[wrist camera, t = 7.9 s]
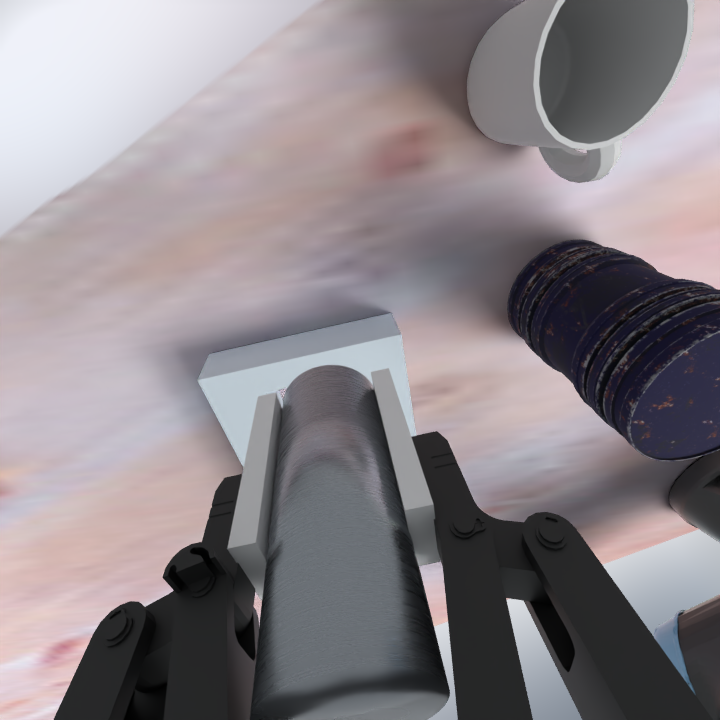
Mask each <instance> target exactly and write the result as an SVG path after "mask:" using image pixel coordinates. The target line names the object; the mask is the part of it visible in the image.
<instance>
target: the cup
mask: <svg viewBox="0 0 720 720" xmlns="http://www.w3.org/2000/svg"><path fill="white" fill-rule="evenodd" d="M693 22H694V0H526V1H524V2H522V3H521V4H519V5H517V6H516V7H514V8H512V9H511V10H509V11H507V12H506V13H505V14H504V15H502V16H501V17H500V18H499V19H498V20H497V21H496V22H495V23H494V24H493V25H492V26H491V27H490V28H489V29H488V30H487V32H486V33H485V35H484V36H483V38H482V39H481V41H480V42H479V44H478V46H477V48H476V51H475V53H474V55H473V58H472V60H471V63H470V68H469V73H468V78H467V101H468V105H469V110H470V114H471V116H472V118H473V120H474V122H475V124H476V126H477V127H478V128H479V129H480V130H481V131H482V133H483V134H484V135H485V136H486V137H488V138H490V139H492V140H494V141H496V142H499V143H503V144H511V145H522V146H536V147H539V150H540V152H541V154H542V156H543V158H544V160H545V162H546V163H547V164H548V166H549V167H550V168H551V170H553V171H554V172H555V173H556V174H558V175H559V176H560V177H562V178H564V179H566V180H568V181H572V182H577V183H582V182H589V181H595V180H600V179H601V178H603V177H604V176H606V175H608V174H609V172H610V171H611V170H612V169H613V167H614V166H615V165H616V163H617V161H618V159H619V157H620V155H621V149H622V139H624V138H626V137H627V136H628V135H630V134H631V133H632V132H633V131H635V130H636V129H637V128H639V127H640V126H641V125H642V124H644V123H645V122H646V121H647V119H648V118H649V117H650V116H651V115H652V114H653V113H654V112H655V111H656V109H657V108H658V107H659V106H660V105H661V104H662V102H663V101H664V99H665V97H666V96H667V94H668V93H669V91H670V90H671V88H672V86H673V85H674V83H675V82H676V79H677V77H678V75H679V72H680V70H681V68H682V66H683V63H684V61H685V59H686V56H687V52H688V48H689V44H690V40H691V36H692V32H693ZM575 149H579V150H587V153H582V152H580V151H577V150H575Z"/></svg>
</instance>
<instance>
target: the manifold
mask: <svg viewBox="0 0 720 720" xmlns="http://www.w3.org/2000/svg"><path fill="white" fill-rule="evenodd" d="M324 365H340V366H346V367H349V368H352V369H354V370H357V371H358V372H360V373H362V374H363V375H364V376H365V377H366V378H367V379H368V380H369V381H370V382H371V384H372V385H373V381H372V376H371V372H373V371H377V370H382V369H387V368H389V370H390V373H391V376H392V380H393V383H394V386H395V389H396V392H397V395H398V398H399V401H400V404H401V407H402V410H403V413H404V416H405V419H406V422H407V425H408V428H409V431H410V434H411V437H412V436H416V429H415V423H414V416H413V409H412V403H411V396H410V389H409V382H408V376H407V369H406V362H405V356H404V349H403V342H402V335H401V332H400V330H399V328H398V326H397V324H396V321H395V319H394V317H393V315H392V313H388V314H384V315H379V316H375V317H370V318H366V319H361V320H357V321H353V322H348V323H344V324H339V325H335V326H330V327H326V328H321V329H317V330H313V331H308V332H304V333H299V334H295V335H290V336H286V337H282V338H277V339H273V340H268V341H264V342H259V343H255V344H251V345H246V346H242V347H237V348H233V349H228V350H224V351H220V352H215V353H211V354H209V355H208V358H207V360H206V362H205V364H204V366H203V369H202V371H201V373H200V375H199V377H198V380H197V381H198V383H199V385H200V387H201V388H202V390H203V392H204V394H205V396H206V398H207V400H208V402H209V404H210V405H211V407H212V409H213V411H214V413H215V415H216V417H217V419H218V421H219V422H220V424H221V426H222V428H223V430H224V432H225V434H226V436H227V438H228V440H229V441H230V443H231V445H232V447H233V449H234V451H235V453H236V455H237V457H238V458H239V460H240V462H241V464H242V466H243V468H244V463H245V458H246V453H247V448H248V443H249V438H250V433H251V428H252V423H253V418H254V414H255V409H256V404H257V399H258V396H262V395H266V394H271V393H277V396H278V399H279V401H280V404H281V407H282V409H283V399H282V397H281V394H280V391H279V390H280V389H284V388H288V386H289V385H290V384H291V382H292V381H293V380H294V379H295V378H296V377H297V376H299V375H300V374H302V373H303V372H305V371H307V370H309V369H312V368H315V367H318V366H324ZM373 387H374V386H373Z"/></svg>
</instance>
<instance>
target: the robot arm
mask: <svg viewBox="0 0 720 720" xmlns="http://www.w3.org/2000/svg"><path fill="white" fill-rule="evenodd" d="M371 376H372V381H373V386H374V391H375V395H376V399H377V403H378V407H379V412H380V416H381V420H382V424H383V428H384V432H385V436H386V440H387V444H388V448H389V452H390V457H391V461H392V465H393V469H394V473H395V477H396V481H397V485H398V489H399V493H400V497H401V502H402V506H403V510H404V514H405V518H406V522H407V526H408V530H409V533H410V535H411V537H412V541H413V545H414V549H415V553H416V557H417V561H418V565H419V566H422V565H426V564H431V563H436V562H440V559H441V563H442V566H443V573H444V583H445V593H446V603H447V613H448V623H449V634H450V644H451V654H452V663H453V674H454V684H455V694H456V705H457V715H458V720H533V718H532V714H531V709H530V705H529V700H528V696H527V691H526V687H525V682H524V678H523V673H522V669H521V664H520V660H519V655H518V651H517V646H516V642H515V637H514V633H513V628H512V624H511V619H510V615H509V610H508V606H507V601H506V598H511V599H518V600H524V602H525V604H526V606H527V608H528V610H529V612H530V614H531V616H532V618H533V620H534V622H535V625H536V627H537V629H538V631H539V632H540V635H541V637H542V639H543V641H544V643H545V645H546V647H547V649H548V651H549V653H550V655H551V657H552V659H553V661H554V663H555V665H556V667H557V669H558V671H559V673H560V675H561V677H562V679H563V681H564V683H565V685H566V687H567V689H568V691H569V693H570V695H571V697H572V699H573V701H574V703H575V705H576V707H577V709H578V712H579V713H580V716H581V718H582V720H720V594H719V595H717V596H715V597H713V598H711V599H709V600H707V601H705V602H703V603H700V604H698V605H696V606H694V607H692V608H690V609H688V610H686V611H685V610H681V611H679V612H677V613H676V615H675V616H674V617H672V618H671V619H669V620H667V621H665V622H664V623H662V624H660V625H659V626H658V627H657V628H656V629H655V632H654V637H653V636H652V634H651V633H650V631H649V630H648V629H647V627H646V626H645V624H644V623H643V621H642V620H641V619H640V617H639V616H638V614H637V613H636V612H635V610H634V609H633V607H632V606H631V605H630V603H629V602H628V600H627V599H626V598H625V596H624V595H623V594H622V592H621V591H620V589H619V588H618V587H617V585H616V584H615V583H614V581H613V580H612V578H611V577H610V576H609V574H608V573H607V571H606V570H605V569H604V567H603V566H602V564H601V563H600V562H599V560H598V559H597V557H596V556H595V555H594V553H593V552H592V550H591V549H590V548H589V546H588V545H587V543H586V542H585V541H584V539H583V538H582V536H581V535H580V534H579V532H578V531H577V529H576V528H575V527H574V526H573V525H572V524H571V523H570V522H569V521H568V520H566V519H564V518H562V517H561V516H559V515H556V514H552V513H548V512H542V513H535V514H533V515H531V516H529V517H528V518H527V519H526V521H525V522H514V521H504V520H499V519H495V518H493V517H491V516H489V515H487V514H486V513H484V512H483V511H482V510H481V509H480V508H479V507H478V506H477V505H476V503H475V502H474V500H473V497H472V495H471V493H470V491H469V488H468V486H467V484H466V482H465V479H464V477H463V475H462V473H461V470H460V468H459V466H458V464H457V461H456V459H455V457H454V455H453V452H452V450H451V448H450V445H449V443H448V441H447V440H446V439H445V438H444V437H443V436H442V435H441V434H439V433H438V432H437V431H436V432H431V433H426V434H422V435H417V436H412V437H411V434H410V431H409V428H408V425H407V422H406V419H405V416H404V413H403V410H402V407H401V404H400V401H399V398H398V395H397V392H396V389H395V386H394V383H393V380H392V376H391V373H390V370H389V368H387V369H382V370H377V371H373V372H371ZM281 418H282V407H281V404H280V401H279V399H278V396H277V393H271V394H266V395H262V396H258V399H257V404H256V409H255V414H254V418H253V423H252V428H251V433H250V438H249V443H248V448H247V453H246V458H245V463H244V468H243V473H242V474H240V475H236V476H231V477H227V478H224V480H223V481H222V482H221V484H220V485H219V487H218V488H217V490H216V491H215V495H214V499H213V503H212V508H211V510H210V514H209V519H208V521H207V525H206V529H205V533H204V537H203V540H202V542H199V543H195V544H191V545H189V546H187V547H185V548H183V549H182V550H180V551H179V552H178V553H177V554H176V555H175V556H174V557H173V558H172V559H171V561H170V562H169V564H168V565H167V567H166V569H165V572H164V575H163V579H164V580H165V581H166V582H167V583H168V584H169V585H170V586H171V588H172V589H173V590H174V591H173V592H171V593H170V594H168V595H166V596H164V597H163V598H161V599H159V600H157V601H155V602H153V603H152V604H150V605H148V606H146V607H144V606H143V605H142V604H141V603H139V602H132V601H130V602H127V603H125V604H122V605H120V606H118V607H117V608H115V609H114V610H113V611H111V612H110V613H109V614H108V615H107V616H106V617H105V618H104V619H103V620H102V621H101V622H100V624H99V626H98V627H97V629H96V631H95V632H94V634H93V636H92V638H91V640H90V642H89V645H88V647H87V649H86V651H85V653H84V655H83V657H82V660H81V662H80V664H79V666H78V668H77V670H76V673H75V675H74V677H73V679H72V681H71V683H70V685H69V688H68V690H67V692H66V694H65V696H64V698H63V701H62V703H61V705H60V707H59V709H58V711H57V713H56V716H55V718H54V720H250V712H251V702H252V693H253V683H254V674H255V664H256V655H257V645H258V636H259V620H258V615H257V612H256V610H255V608H254V607H253V605H254V597H255V592H256V593H257V595H258V596H259V598H260V599H261V600H262V598H263V589H264V579H265V570H266V560H267V551H268V541H269V532H270V522H271V513H272V503H273V494H274V484H275V475H276V466H277V456H278V447H279V437H280V428H281ZM669 502H670V505H671V507H672V508H673V509H674V510H675V511H676V512H677V513H678V514H679V515H680V516H681V517H682V518H683V519H684V520H685V521H686V522H687V523H689V524H690V525H692V526H694V527H696V528H699V529H700V530H702V531H703V532H704V533H706V534H707V535H709V536H711V537H712V538H713V539H715V540H716V541H718V542H720V450H718V451H715V452H712V453H710V454H707V455H705V456H704V457H702V458H701V459H699V460H698V461H696V462H695V463H694V464H693V465H691V466H690V467H689V468H688V469H687V470H686V471H685V472H684V473H683V474H682V475H681V476H680V477H679V478H678V479H677V481H676V482H675V484H674V485H673V487H672V489H671V492H670V495H669Z"/></svg>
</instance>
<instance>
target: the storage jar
mask: <svg viewBox="0 0 720 720" xmlns="http://www.w3.org/2000/svg"><path fill="white" fill-rule="evenodd" d="M507 310H508V318H509V321H510V324H511V326H512V328H513V329H514V330H515V332H516V333H517V334H518V335H519V336H520V337H522V338H523V339H524V340H525V342H526V344H527V345H528V346H529V347H530V349H532V351H533V352H535V353H536V354H537V355H538V356H539V357H540V358H541V359H542V360H543V361H544V362H545V363H546V364H547V365H549V366H551V367H552V368H553V369H555V370H557V371H559V372H562V373H563V374H564V375H565V376H566V377H567V378H568V379H569V380H570V381H571V382H572V383H573V385H574V387H575V389H576V391H577V392H578V393H579V395H580V397H581V398H582V400H583V401H584V402H585V403H586V404H587V405H589V406H590V407H592V409H593V410H594V411H595V412H596V414H598V415H599V416H600V417H601V418H602V419H603V420H604V421H605V422H606V423H607V424H608V425H610V426H611V427H612V428H614V429H615V430H616V431H617V432H618V433H619V434H621V435H622V436H623V437H625V439H626V440H627V441H628V442H629V443H630V444H631V445H632V446H633V447H634V448H635V449H636V450H637V451H638V452H639V453H641V454H642V455H643V456H645V457H648V458H650V459H653V460H658V461H683V460H688V459H693V458H697V457H700V456H704V455H707V454H710V453H712V452H715V451H718V450H720V290H717V289H715V288H713V287H712V286H710V285H708V284H705V283H703V282H696V281H692V280H686V279H674V278H672V277H669V276H667V275H664V274H662V273H659V272H657V270H656V269H655V268H654V267H653V266H651V265H650V264H649V263H647V262H645V261H644V260H642V259H641V258H639V257H636V256H634V255H629V254H626V253H624V252H621V251H619V250H616V249H614V248H608V247H603V246H601V245H599V244H596V243H594V242H591V241H586V240H571V241H565V242H562V243H559V244H556V245H554V246H552V247H550V248H548V249H546V250H544V251H543V252H541V253H540V254H538V255H537V256H536V257H535V258H534V259H532V260H531V261H530V262H529V263H528V264H527V265H526V266H525V267H524V269H523V270H522V271H521V273H520V274H519V275H518V277H517V279H516V280H515V282H514V284H513V286H512V289H511V291H510V295H509V299H508V307H507Z"/></svg>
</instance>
